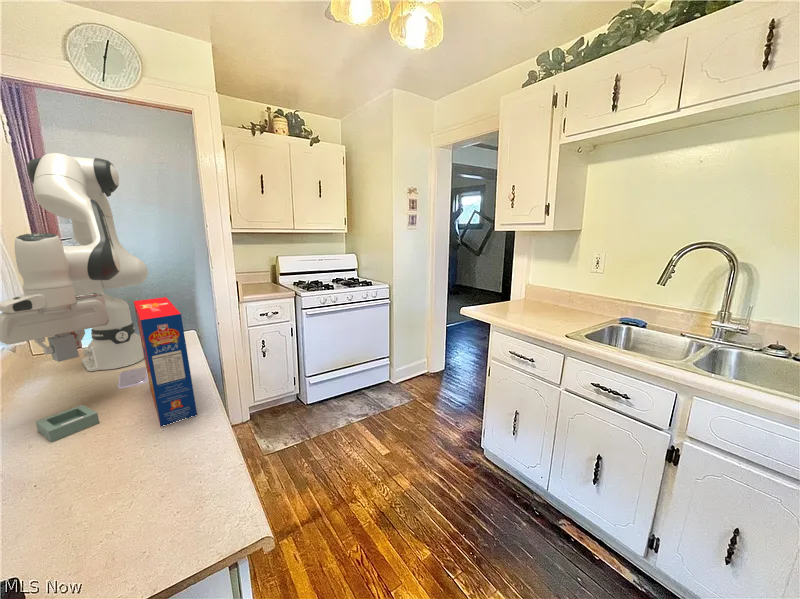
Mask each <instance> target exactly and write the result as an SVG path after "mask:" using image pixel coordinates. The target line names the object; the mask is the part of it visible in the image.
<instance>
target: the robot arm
mask: <svg viewBox="0 0 800 599" xmlns="http://www.w3.org/2000/svg"><path fill="white" fill-rule="evenodd" d="M26 165H27V166H26V171H27V173H28V178H29V180H30V181H31V183H32V184H33V188H32V189H33V190H32V191H33V196H34V199H35V201H36V202H37V204H38V205H39V206H41V208H42V209H44V210H45V211H47V212H49V213H51V214H52V215H55V216H57V217H60V218H64V219H67V220H71V226H72V231H73V237H74V239H75V241H76V242H77V243H78V244H79V245H63V243H62V241H61V239H60V237H59V235H58V234H55V233H50V232H38V233H37V232H34V233H33V232H32V233H25V234H20V235H18V236H17V237H15V238H14V255H15V262H16V263H15V264H16V267H17V271H18V273H19V274H20V275H19V276H21V278H22V282H23V285H22V291H23V294H20V295H18V296H14V297H12V298H9V299H6V300H3V301H0V342H1V344H4V345H8V346H9V345H13V344H19V343H25V342H29V341H33V340H34V343H36V344H37V345H38V346H39V347H41V348H42V349H43V353H44V355H45V356H47V355H52V353H55V352H54V348H53V346H48V345H47V344H45V342H46V338H47V337H52V336H57V335H62V334H66V333H69V334H70V333H73V332H74V334H76V337H75V341H76V345H77V349H78V348H82V347H83V343H82V340H83V338H84V337H85V335H86V330H89V329H91V333H90V334H91V339H92V340H91V341H90V343H89V344H88V345H87V348H86V349H84V350H83V356H84V358H82V359H81V363H82V365H83V366H84V368H85V369H86V371H87V372H95V371H103V370H104V371H105V370H114V369H119V368H125V367H127V366H132V365H134V364H136V363H139V362H142V360H145V358H144V353H143V348H142V343H141V337H140V334H137V333H136V326H135V324H134V322H133V321H132V315H131V311H130V306H129V304H128V302H127V301H125V300H123V299H121V298H118V297H114V296H110V295H107V293H105V292H104V290H106V289H116V288H117V289H118V288H127V287H132V286H137V285H140V284H143V283H144V282H146V279H148V278H147V277H148V274H149V273H148V267H147V265H146V264H145V262H144V261H143V260H142V259H140V258H139V257H136V256H135V255H133V254H131V253H130V252H129V251H127V249H125V248H124V246H122V244H121V243H120V241H119V237H118V234H117V232H116V231H117V230H116V227H115V223H114V222H115V221H114V217H113V212H112V208H111V205H110V203H109V200H108V197H111V195H112V193H114V192H115V191H116V190H117V188H119V184H120V175H119V173H118V170H117V169H116V167H115V165H114V164H113V163H112V162H110V161H109V159H108V160H107V159H103V158H98V157H94V158H91V157H90V158H89V157H83V156H82V157H81V156H79V157H78V156H70V155H67V154H64V153H60V152H49V153H47V154H44V155H42V157H36V158H32V159H31V160H29V161H28V163H27V164H26Z"/></svg>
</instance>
